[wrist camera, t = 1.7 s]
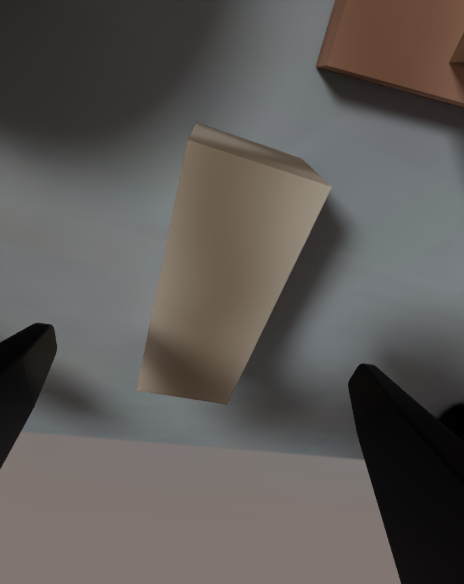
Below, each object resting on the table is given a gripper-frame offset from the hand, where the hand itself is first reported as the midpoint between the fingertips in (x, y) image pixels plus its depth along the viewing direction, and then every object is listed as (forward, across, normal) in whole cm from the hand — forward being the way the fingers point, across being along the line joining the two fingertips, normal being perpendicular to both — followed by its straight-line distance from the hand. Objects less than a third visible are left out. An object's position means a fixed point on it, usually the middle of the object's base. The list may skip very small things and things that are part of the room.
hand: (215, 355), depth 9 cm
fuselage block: (+6, 0, 0) cm, 6 cm away
